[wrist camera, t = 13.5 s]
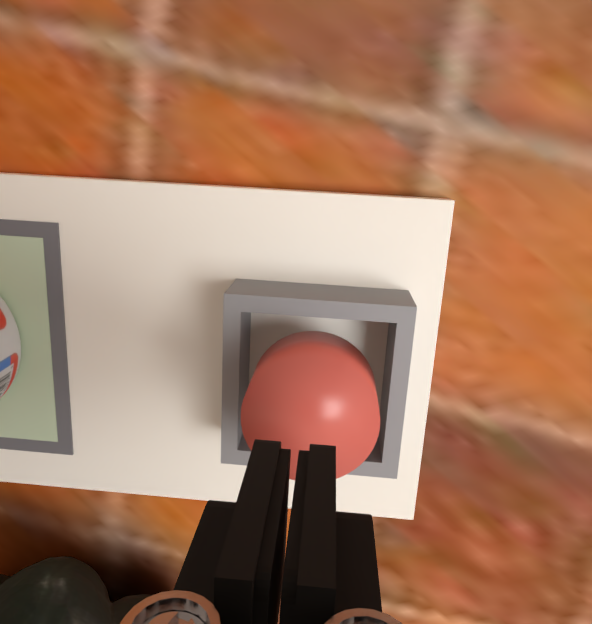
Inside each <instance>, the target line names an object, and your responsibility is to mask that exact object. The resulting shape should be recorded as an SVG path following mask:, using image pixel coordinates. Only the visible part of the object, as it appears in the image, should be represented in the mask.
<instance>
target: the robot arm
mask: <svg viewBox="0 0 592 624" xmlns="http://www.w3.org/2000/svg"><path fill="white" fill-rule="evenodd" d="M290 458H291V449H282V448H281V441H271V440H259V439H255V441H254V444H253V447H252V450H251V454H250V457H249V461H248V464H247V467H246V471H245V474H244V478H243V481H242V484H241V488H240V491H239V495H238V498H237V501H236V502H226V501H215V500H209V501H208V502H207V504H206V506H205V509H204V511H203V514H202V517H201V519H200V522H199V525H198V527H197V530H196V533H195V535H194V538H193V540H192V543H191V546H190V548H189V551H188V554H187V556H186V559H185V561H184V564H183V567H182V569H181V572H180V575H179V577H178V580H177V582H176V585H175V588H174V590H173V591H166V592H160V593H157V594H155V595H152V596H149V597H147V598H145V599H144V600H142V601H141V602H139V603H138V604H136V605H135V606H133V608H132V609H131V610H130V611H129V612H128V613H127V614H126V615H125V617H124V618H123V619H122V621H121V622H120V624H277V622H278V614H279V607H280V623H279V624H402V623H401V622H399V621H398V620H396V619H395V618H393V617H391V616H390V615H388V614H385V613H382V607H381V597H380V587H379V578H378V568H377V558H376V549H375V539H374V529H373V520H372V515H371V514H362V513H350V512H339V511H336V446H331V445H319V444H310V448H309V451H306V450H299V453H298V461H297V469H296V477H295V485H294V492H293V500H292V508H291V516H290V524H289V531H288V539H287V547H286V555H285V546H286V528H287V511H288V493H289V476H290ZM280 599H281V605H280Z"/></svg>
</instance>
